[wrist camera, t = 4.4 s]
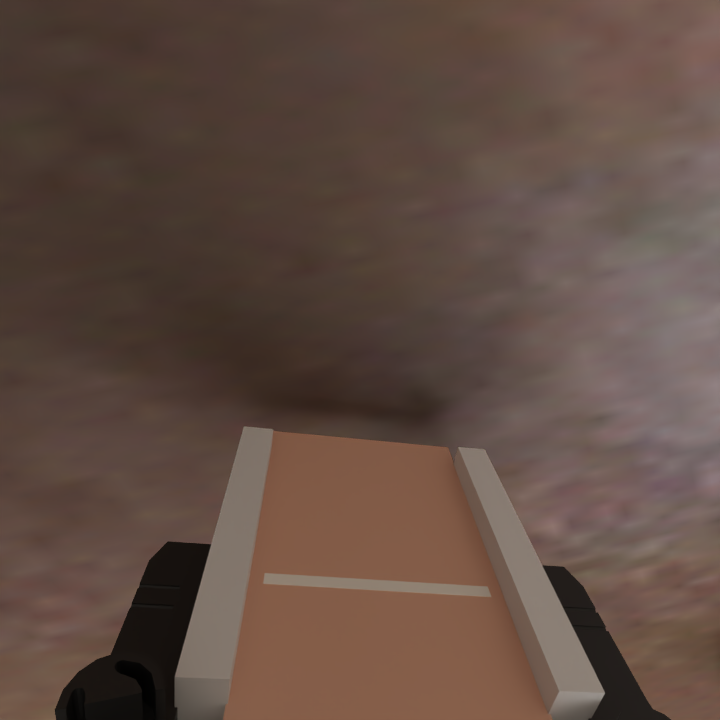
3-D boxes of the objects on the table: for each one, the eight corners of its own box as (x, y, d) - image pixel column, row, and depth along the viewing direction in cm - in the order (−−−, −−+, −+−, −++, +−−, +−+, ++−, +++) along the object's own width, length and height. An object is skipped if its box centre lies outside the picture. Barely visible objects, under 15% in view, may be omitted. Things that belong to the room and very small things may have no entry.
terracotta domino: (436, 492, 15) (601, 1035, 6) (268, 477, 15) (174, 1056, 5) (448, 446, 14) (653, 980, 5) (272, 430, 14) (174, 998, 5)
